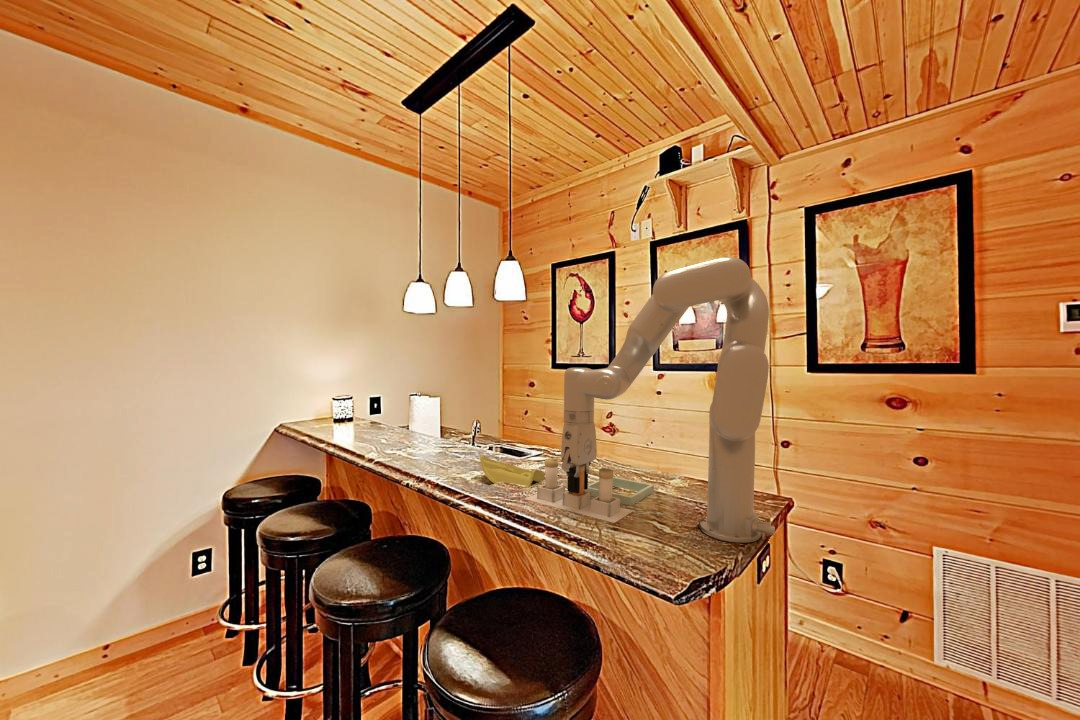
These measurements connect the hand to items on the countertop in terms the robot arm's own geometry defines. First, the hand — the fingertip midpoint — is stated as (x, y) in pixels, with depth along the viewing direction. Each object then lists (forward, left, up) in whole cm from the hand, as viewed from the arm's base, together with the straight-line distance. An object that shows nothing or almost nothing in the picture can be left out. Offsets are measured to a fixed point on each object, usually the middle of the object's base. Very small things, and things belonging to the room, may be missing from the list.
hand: (577, 489), depth 116 cm
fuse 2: (-8, 0, -4) cm, 9 cm away
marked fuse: (0, 0, -4) cm, 4 cm away
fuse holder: (0, 0, -5) cm, 5 cm away
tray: (-4, -15, -5) cm, 16 cm away
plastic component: (+29, -8, -6) cm, 30 cm away
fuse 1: (+8, 0, -4) cm, 9 cm away
